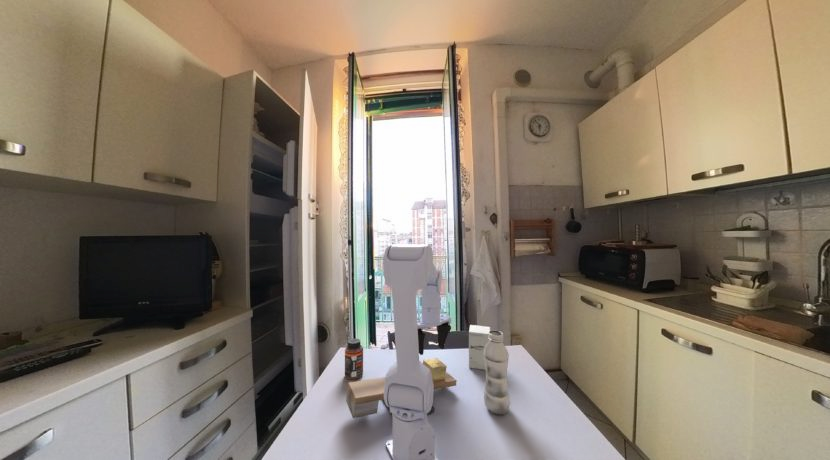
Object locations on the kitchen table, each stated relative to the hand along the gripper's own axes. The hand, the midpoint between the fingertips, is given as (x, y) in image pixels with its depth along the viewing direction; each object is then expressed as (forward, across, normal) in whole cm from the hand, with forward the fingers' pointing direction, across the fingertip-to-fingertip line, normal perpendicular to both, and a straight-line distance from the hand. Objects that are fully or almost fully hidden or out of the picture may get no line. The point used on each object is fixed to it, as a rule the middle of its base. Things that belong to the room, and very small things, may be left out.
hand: (431, 350), depth 76 cm
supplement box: (+11, -21, -1) cm, 24 cm away
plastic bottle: (+11, -9, +18) cm, 22 cm away
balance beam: (+9, +11, +3) cm, 15 cm away
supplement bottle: (+11, +19, -17) cm, 28 cm away
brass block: (+6, +2, +4) cm, 7 cm away
